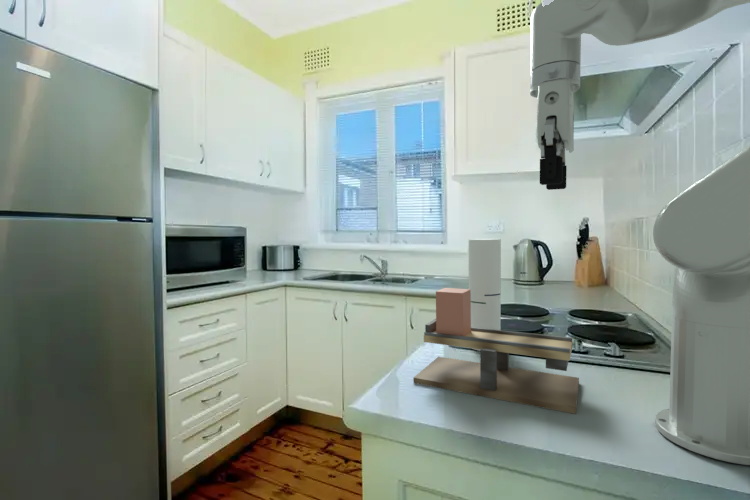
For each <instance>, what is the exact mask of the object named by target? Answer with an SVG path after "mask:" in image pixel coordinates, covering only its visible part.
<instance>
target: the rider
mask: <svg viewBox="0 0 750 500" xmlns="http://www.w3.org/2000/svg"><path fill="white" fill-rule="evenodd" d="M435 319H436V333H441V334H450V335H459V336H466V335H467V334H468V333H470V332H471V289H469V288H457V287H456V288H455V287H454V288H453V287H443V288H441V289H438V290H436V291H435Z"/></svg>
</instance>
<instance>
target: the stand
mask: <svg viewBox="0 0 750 500" xmlns="http://www.w3.org/2000/svg"><path fill="white" fill-rule="evenodd" d="M479 352H480V353H479V354H480V356H479V357H480V361H479V362H477V361H471V360H463V359H459V358H458V359H456V358H451V357H450V358H449V357H443V356H437V357H436V358H434V360H433V361H431V362H430V363H429V364H428V365H426V367H424V368H423V369H422V370H421V371H419V372H418V373H417V374H416V375H415V376H413V384H417V385H423V386H427V387H433V388H437V389H444V390H449V391H454V392H458V393H465V394H470V395H474V396H479V397H480V396H481V397H484V398H485V397H486V398H491V399H496V400H501V401H506V402H511V403H515V404H516V403H517V404H522V405H527V406H533V407H538V408H542V409H547V410H554V411H559V412H563V413H568V414H573V415H576V414H577V407H578V406H577V405H578V397H579V396H578V395H579V386H580V378H579V377H576V376H569V375H563V374H558V373H557V374H556V373H549V372H542V371H538V370H537V371H536V370H528V369H524V368H517V367H510V357H509V356H510V353H505V352H497V350H495V349H487V348H482V349H481V350H480V351H479Z"/></svg>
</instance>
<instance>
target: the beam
mask: <svg viewBox="0 0 750 500" xmlns="http://www.w3.org/2000/svg"><path fill="white" fill-rule="evenodd" d="M424 326H425V327H424V329H425V331H424V332H423V342H424V343H429V344H435V345H436V344H437V345H444V346H453V347H461V348H466V349H467V348H468V349H472V348H474V349H482V348H487V349H495V350H497V352H505V353H509V354H514V355H522V356H530V357H536V358H537V357H538V358H545V369H548V370H549V369H550V370H557V371H561V372H563V371H565V372H567V371H568V366H569V361H570V360H571V356H572V351H573V337H572V336H571V337H570V336H560V335H559V336H558V335H550V334H541V333H540V334H539V333H533V332H521V331H511V330H502V329H501V330H494V329H485V328H475V327H471V332H470V333H468V334H467V335H466V336H459V335H450V334H441V333H436V318H435V319H433V320H431V321H430V322H428V323H426V324H425V325H424ZM474 349H473V350H474Z"/></svg>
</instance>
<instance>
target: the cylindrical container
mask: <svg viewBox="0 0 750 500" xmlns="http://www.w3.org/2000/svg"><path fill="white" fill-rule="evenodd" d="M501 243H502V239H501V238H469V239H468V289H471V327H475V328H485V329H494V330H502V329H501V322H502V321H501V318H502V317H501V315H502V314H501V310H502V309H501V307H502V306H501V305H502V304H501V303H502V302H501V297H502V296H501V295H502V294H501V293H502V291H501V288H502V287H501V285H502V281H501V278H502V275H501V272H502V271H501V269H502V267H501V265H502V257H501V254H502V253H501V252H502V251H501V250H502V247H501V245H502V244H501ZM471 349H472V350H475V351H479V352H480V350H481V349H474V348H471Z"/></svg>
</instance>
